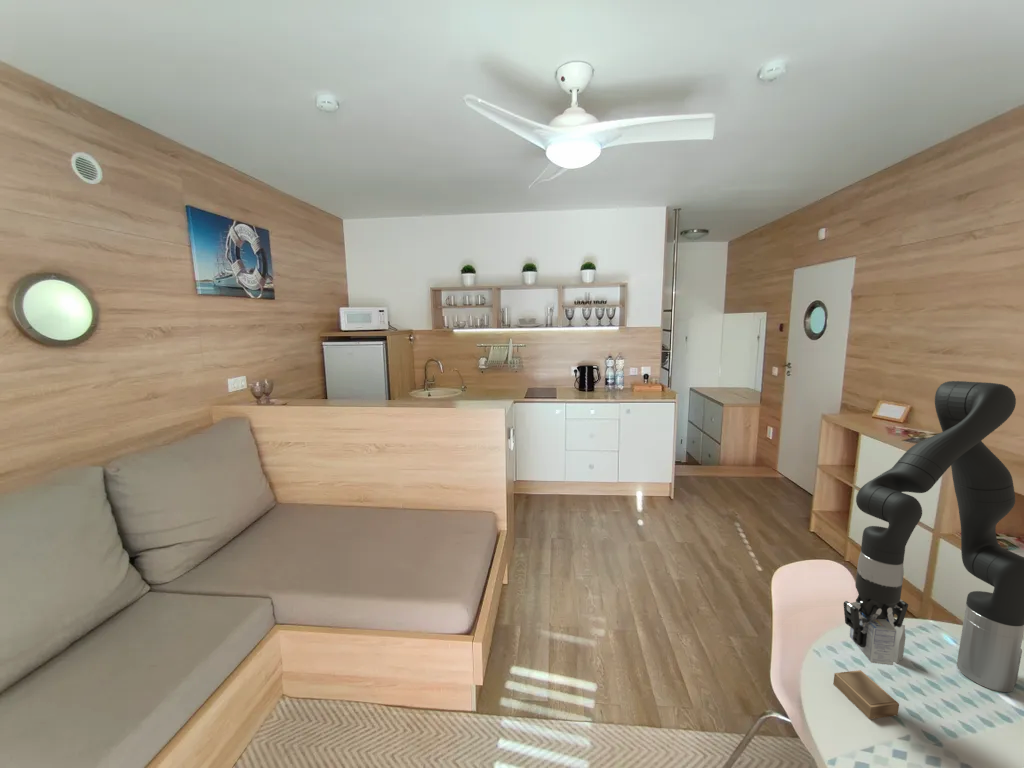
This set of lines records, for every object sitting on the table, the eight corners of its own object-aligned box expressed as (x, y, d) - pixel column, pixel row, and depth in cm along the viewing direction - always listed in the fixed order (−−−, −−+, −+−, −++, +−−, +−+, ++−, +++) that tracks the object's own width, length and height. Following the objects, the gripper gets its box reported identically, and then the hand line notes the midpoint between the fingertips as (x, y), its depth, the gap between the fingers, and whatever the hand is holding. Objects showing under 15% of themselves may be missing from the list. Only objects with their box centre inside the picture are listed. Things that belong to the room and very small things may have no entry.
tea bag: (896, 663, 105) (901, 628, 103) (864, 645, 110) (868, 612, 109) (902, 658, 106) (907, 623, 105) (870, 640, 112) (874, 607, 111)
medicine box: (893, 666, 89) (898, 630, 88) (870, 663, 90) (874, 627, 88) (870, 639, 96) (874, 606, 95) (848, 636, 97) (852, 603, 96)
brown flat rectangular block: (859, 681, 100) (860, 669, 99) (897, 715, 91) (899, 703, 90) (833, 684, 99) (834, 672, 98) (869, 719, 90) (870, 706, 89)
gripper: (890, 562, 95) (882, 628, 97) (834, 567, 93) (827, 634, 96) (926, 582, 87) (916, 653, 90) (866, 588, 86) (858, 659, 88)
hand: (871, 643), depth 93 cm, fingers closed on medicine box, 5 cm apart
